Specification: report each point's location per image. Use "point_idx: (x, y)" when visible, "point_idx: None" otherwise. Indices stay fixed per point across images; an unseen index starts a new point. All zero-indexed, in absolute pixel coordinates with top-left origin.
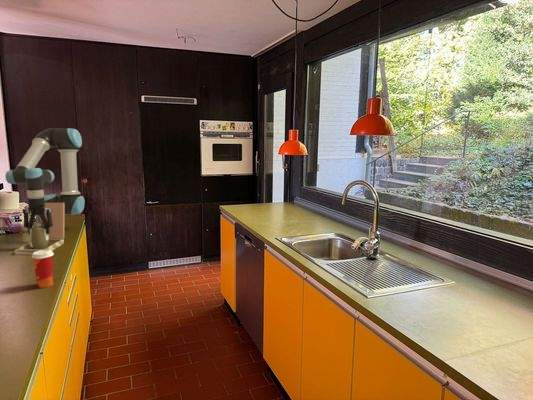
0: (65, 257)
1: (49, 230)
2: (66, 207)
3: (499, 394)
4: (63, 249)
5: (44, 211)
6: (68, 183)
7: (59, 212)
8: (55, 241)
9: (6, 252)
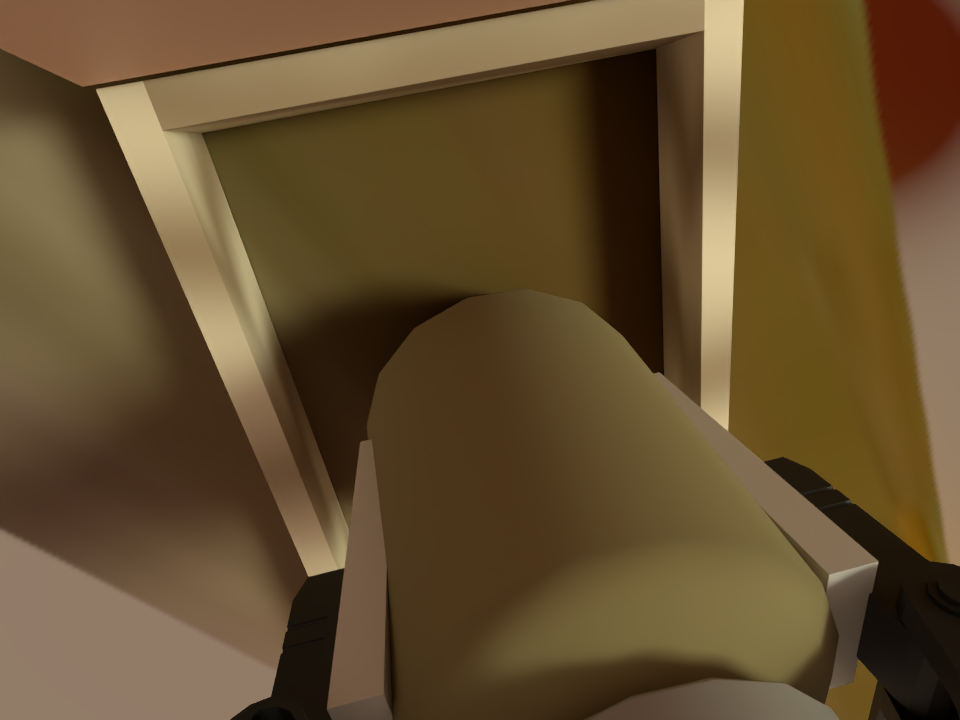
0: (917, 546)
1: (864, 512)
2: None
3: None
4: (810, 326)
5: None
6: None
7: None
8: (575, 58)
9: (152, 587)
